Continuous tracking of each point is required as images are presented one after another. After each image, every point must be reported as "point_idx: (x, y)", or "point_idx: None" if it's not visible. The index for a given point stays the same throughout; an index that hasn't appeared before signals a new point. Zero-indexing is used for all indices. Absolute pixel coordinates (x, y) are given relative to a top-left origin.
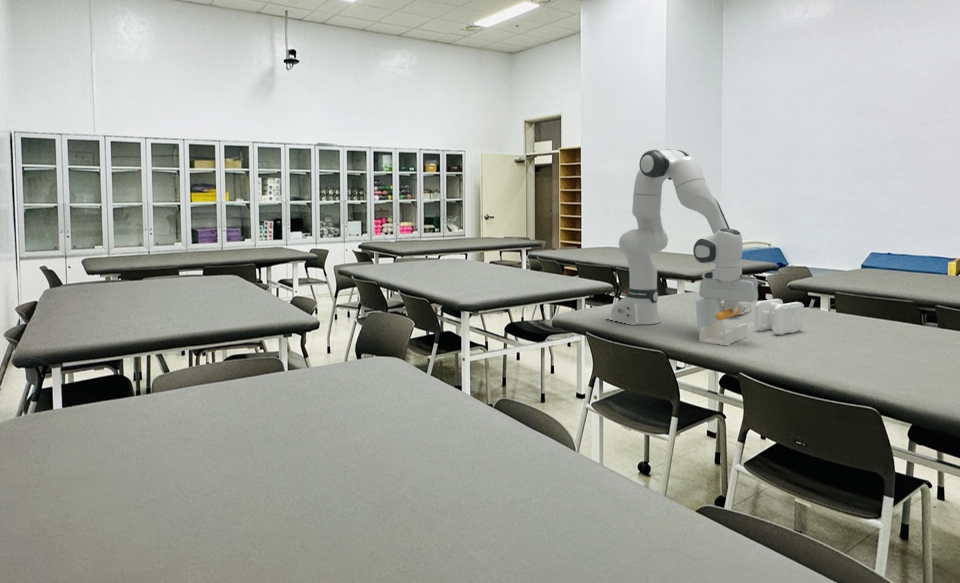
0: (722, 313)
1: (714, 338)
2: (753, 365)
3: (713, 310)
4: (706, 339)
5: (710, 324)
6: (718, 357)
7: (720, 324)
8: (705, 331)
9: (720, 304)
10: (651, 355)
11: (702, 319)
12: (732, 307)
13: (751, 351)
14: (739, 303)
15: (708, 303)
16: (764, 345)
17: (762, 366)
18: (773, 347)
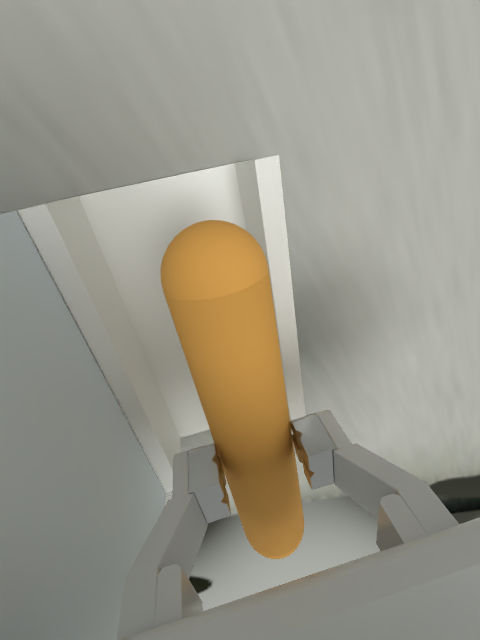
0: (300, 541)
1: (192, 379)
2: (428, 474)
3: (31, 414)
4: (182, 416)
5: (118, 395)
6: (333, 493)
7: (81, 256)
8: (169, 443)
9: (188, 540)
10: (200, 588)
11: (144, 516)
12: (312, 462)
13: (384, 386)
14: (421, 485)
15: (44, 597)
16: (398, 272)
17: (448, 465)
18: (437, 274)
